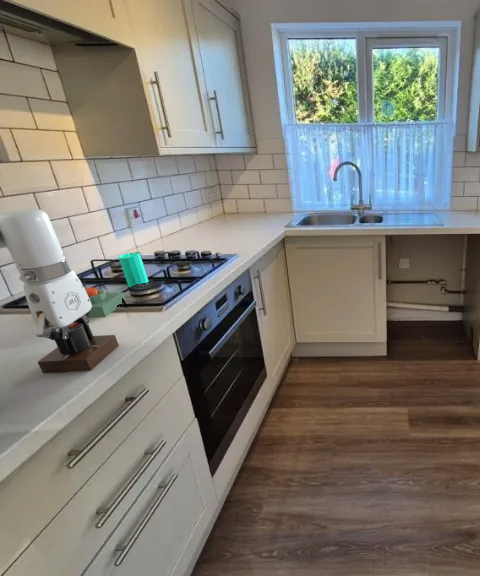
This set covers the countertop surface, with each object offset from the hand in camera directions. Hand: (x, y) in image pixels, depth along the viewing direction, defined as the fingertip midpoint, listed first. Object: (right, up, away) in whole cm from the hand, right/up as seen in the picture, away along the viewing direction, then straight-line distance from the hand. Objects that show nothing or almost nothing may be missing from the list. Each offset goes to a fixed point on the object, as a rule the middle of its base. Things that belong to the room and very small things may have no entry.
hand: (78, 346), depth 81 cm
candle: (-15, +14, +42) cm, 47 cm away
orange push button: (-16, +11, +23) cm, 30 cm away
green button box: (-16, +7, +24) cm, 30 cm away
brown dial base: (0, -3, +1) cm, 3 cm away
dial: (0, 0, 0) cm, 0 cm away
